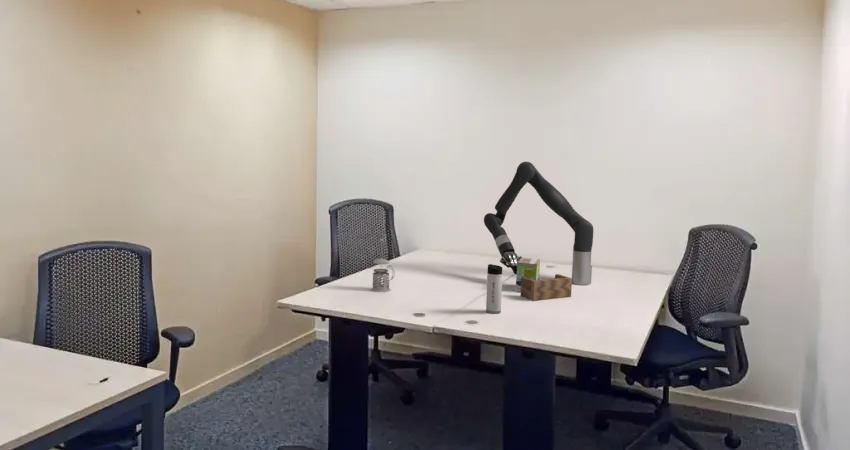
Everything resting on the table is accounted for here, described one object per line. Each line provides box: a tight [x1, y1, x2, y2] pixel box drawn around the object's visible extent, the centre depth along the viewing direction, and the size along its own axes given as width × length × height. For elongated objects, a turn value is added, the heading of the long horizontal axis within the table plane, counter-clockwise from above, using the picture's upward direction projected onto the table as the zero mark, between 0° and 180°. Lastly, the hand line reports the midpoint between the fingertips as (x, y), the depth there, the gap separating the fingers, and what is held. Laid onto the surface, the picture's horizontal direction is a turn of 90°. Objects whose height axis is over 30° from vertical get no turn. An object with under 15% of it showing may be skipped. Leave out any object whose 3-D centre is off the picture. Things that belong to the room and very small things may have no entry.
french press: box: [370, 238, 395, 293], centre depth 305 cm, size 10×12×25 cm
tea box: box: [515, 257, 541, 293], centre depth 314 cm, size 15×10×15 cm
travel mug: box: [485, 263, 503, 315], centre depth 269 cm, size 6×7×20 cm
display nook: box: [520, 273, 573, 302], centre depth 300 cm, size 22×10×9 cm, turn 118°
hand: (517, 273), depth 320 cm, fingers closed
